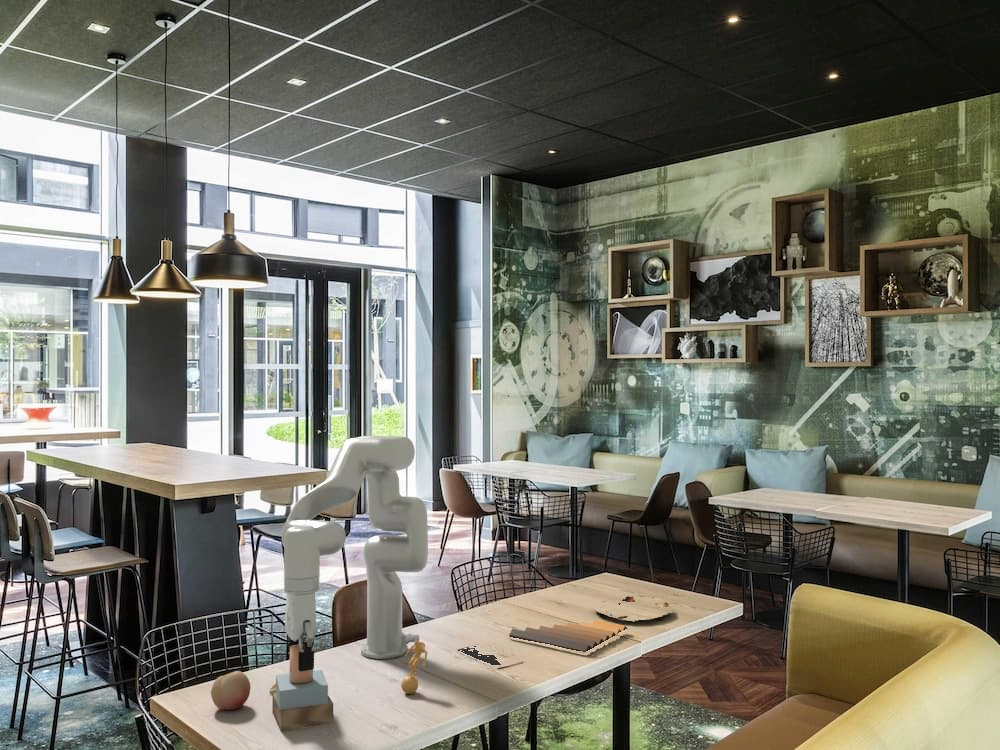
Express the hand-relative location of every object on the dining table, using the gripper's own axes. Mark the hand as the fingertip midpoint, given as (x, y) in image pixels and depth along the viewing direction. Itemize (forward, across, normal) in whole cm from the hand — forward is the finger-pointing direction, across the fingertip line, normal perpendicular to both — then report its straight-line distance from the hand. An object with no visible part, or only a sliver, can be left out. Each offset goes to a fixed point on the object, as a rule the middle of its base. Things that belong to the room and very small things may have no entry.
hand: (301, 663), depth 173 cm
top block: (+8, 0, 0) cm, 8 cm away
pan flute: (+12, -23, +82) cm, 86 cm away
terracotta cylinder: (+3, 0, 0) cm, 3 cm away
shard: (+12, -19, 0) cm, 23 cm away
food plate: (+12, -35, +113) cm, 119 cm away
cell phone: (+12, -18, +54) cm, 58 cm away
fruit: (+12, -12, -13) cm, 21 cm away
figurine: (+12, -3, +27) cm, 30 cm away
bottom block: (+12, 0, 0) cm, 12 cm away
